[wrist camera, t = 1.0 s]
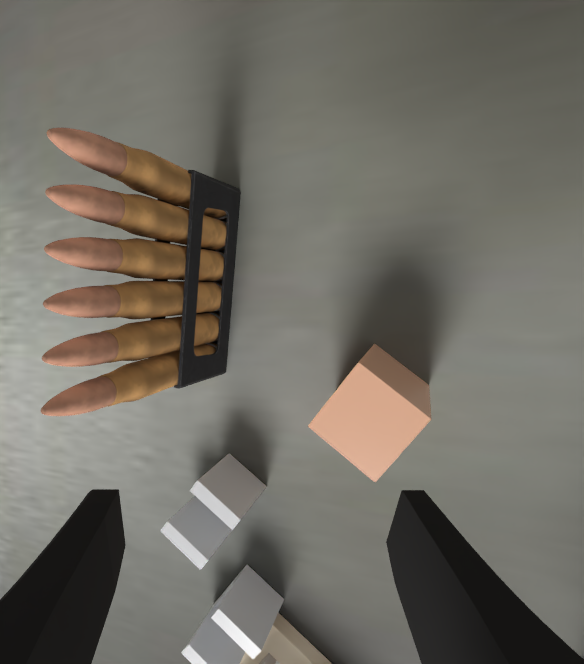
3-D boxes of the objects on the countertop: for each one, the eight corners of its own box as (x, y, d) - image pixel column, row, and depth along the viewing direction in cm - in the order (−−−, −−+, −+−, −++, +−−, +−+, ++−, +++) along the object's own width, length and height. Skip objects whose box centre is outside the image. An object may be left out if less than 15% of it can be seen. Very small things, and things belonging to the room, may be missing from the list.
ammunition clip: (211, 187, 24) (25, 100, 13) (240, 189, 24) (74, 98, 12) (198, 368, 26) (20, 433, 14) (225, 373, 25) (63, 444, 14)
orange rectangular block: (428, 385, 22) (431, 419, 16) (386, 433, 23) (375, 482, 17) (374, 343, 22) (358, 362, 17) (335, 392, 23) (307, 426, 18)
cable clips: (332, 545, 24) (317, 590, 21) (248, 638, 27) (221, 694, 23) (229, 452, 26) (197, 480, 22) (157, 549, 28) (118, 588, 24)
